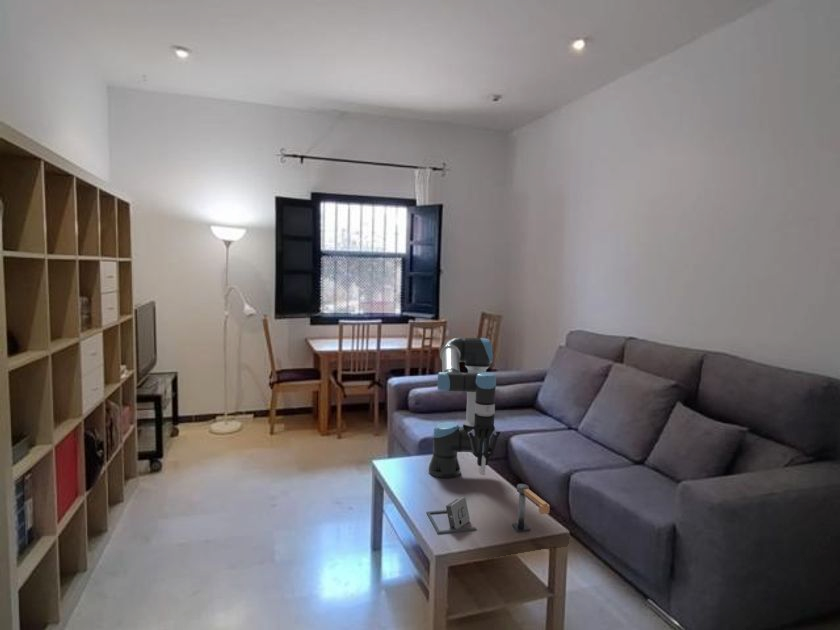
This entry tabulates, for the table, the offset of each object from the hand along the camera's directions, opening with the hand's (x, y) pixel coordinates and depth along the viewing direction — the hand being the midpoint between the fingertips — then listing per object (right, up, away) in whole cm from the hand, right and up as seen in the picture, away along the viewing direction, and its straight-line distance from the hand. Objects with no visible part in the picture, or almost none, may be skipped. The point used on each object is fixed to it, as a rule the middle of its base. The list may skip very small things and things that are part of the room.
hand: (482, 473), depth 192 cm
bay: (-12, -18, -1) cm, 22 cm away
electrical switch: (-10, -18, -3) cm, 21 cm away
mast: (+14, -19, -5) cm, 24 cm away
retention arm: (+16, -7, -12) cm, 22 cm away
